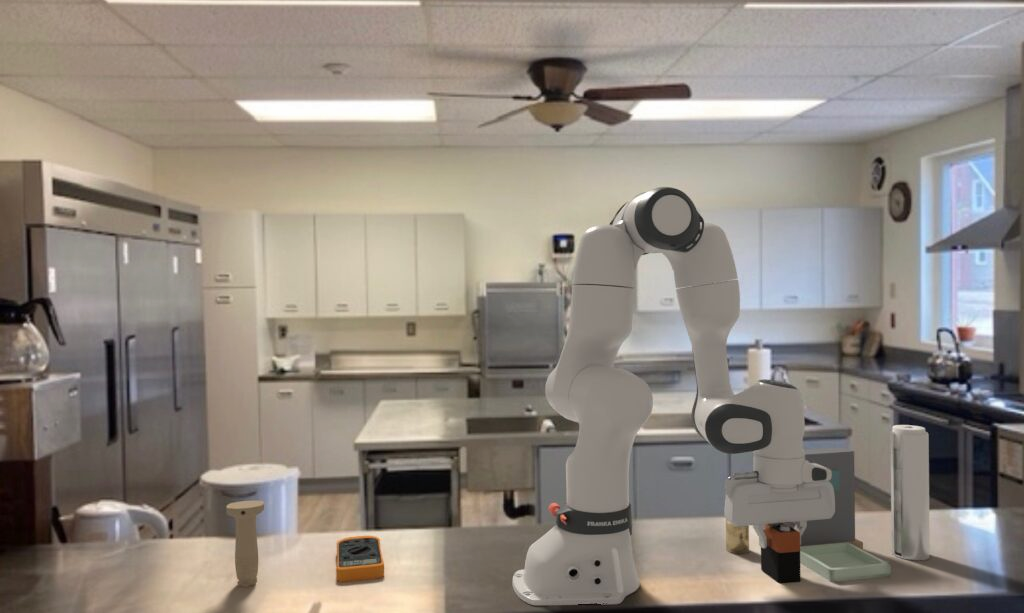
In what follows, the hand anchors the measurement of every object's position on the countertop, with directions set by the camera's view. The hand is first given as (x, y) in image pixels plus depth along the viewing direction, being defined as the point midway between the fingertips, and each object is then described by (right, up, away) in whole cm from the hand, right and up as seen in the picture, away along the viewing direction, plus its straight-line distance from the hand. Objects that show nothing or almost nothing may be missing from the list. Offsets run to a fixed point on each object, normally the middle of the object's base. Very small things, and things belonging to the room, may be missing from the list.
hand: (779, 545), depth 133 cm
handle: (-97, -8, 0) cm, 97 cm away
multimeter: (-78, -8, +10) cm, 79 cm away
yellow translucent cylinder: (-3, -6, +14) cm, 15 cm away
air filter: (+29, -5, +10) cm, 31 cm away
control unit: (+12, -5, +14) cm, 19 cm away
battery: (0, -6, 0) cm, 6 cm away
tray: (+13, -5, +4) cm, 14 cm away
